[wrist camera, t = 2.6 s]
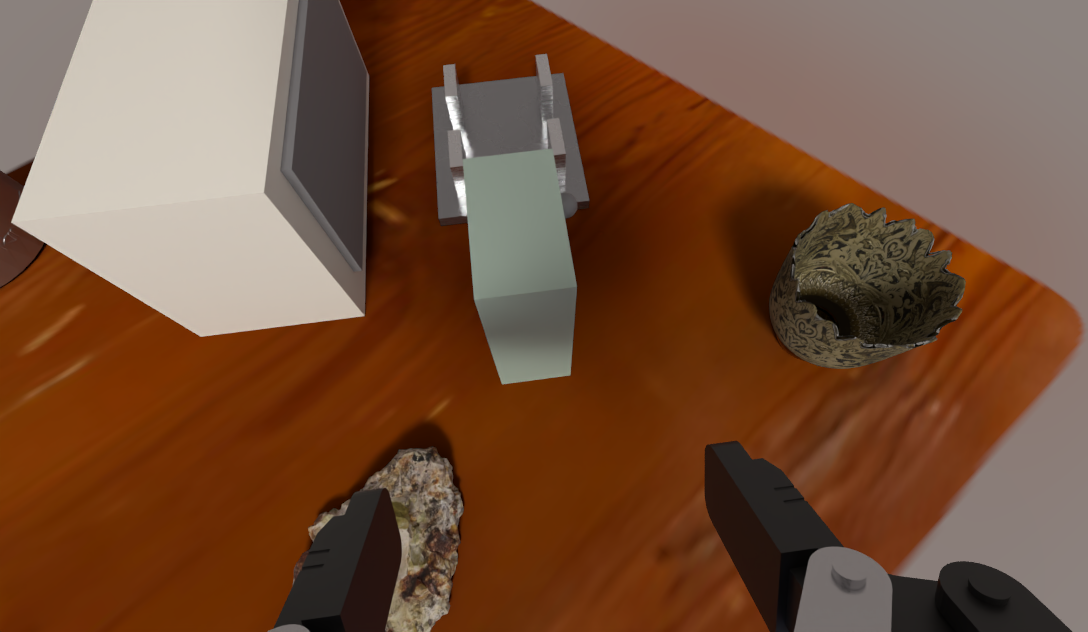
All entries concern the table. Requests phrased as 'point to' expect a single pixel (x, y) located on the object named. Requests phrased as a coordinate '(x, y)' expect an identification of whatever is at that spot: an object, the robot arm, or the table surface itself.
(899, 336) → the cup
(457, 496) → the mineral rock
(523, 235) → the pale green rectangular box
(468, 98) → the grey holder base
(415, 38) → the table surface
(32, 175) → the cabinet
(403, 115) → the table surface
